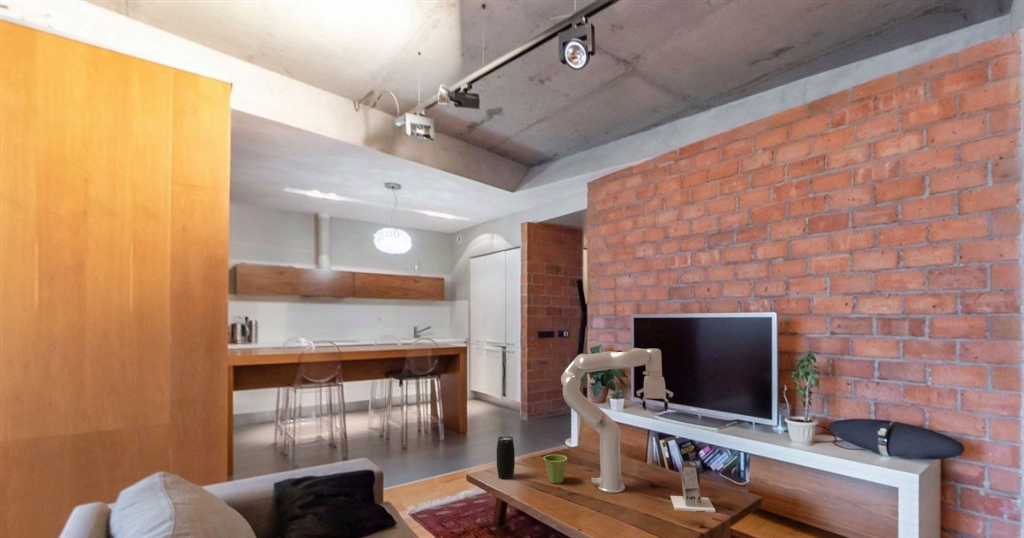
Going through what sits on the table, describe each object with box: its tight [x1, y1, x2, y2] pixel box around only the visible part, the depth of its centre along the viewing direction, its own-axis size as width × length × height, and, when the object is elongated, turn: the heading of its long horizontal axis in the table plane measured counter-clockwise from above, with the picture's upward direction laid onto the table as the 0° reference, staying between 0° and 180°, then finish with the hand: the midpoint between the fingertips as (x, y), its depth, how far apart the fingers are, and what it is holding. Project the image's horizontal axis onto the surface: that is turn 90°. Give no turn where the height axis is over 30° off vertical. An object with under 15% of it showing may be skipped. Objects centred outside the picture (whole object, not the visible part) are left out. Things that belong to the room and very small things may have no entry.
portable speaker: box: [496, 435, 516, 480], centre depth 235 cm, size 9×9×20 cm
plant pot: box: [543, 454, 568, 484], centre depth 228 cm, size 12×12×11 cm
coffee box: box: [680, 460, 701, 507], centre depth 198 cm, size 9×6×16 cm
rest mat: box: [670, 495, 716, 513], centre depth 197 cm, size 16×13×1 cm
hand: (655, 409), depth 221 cm, fingers open, 9 cm apart
